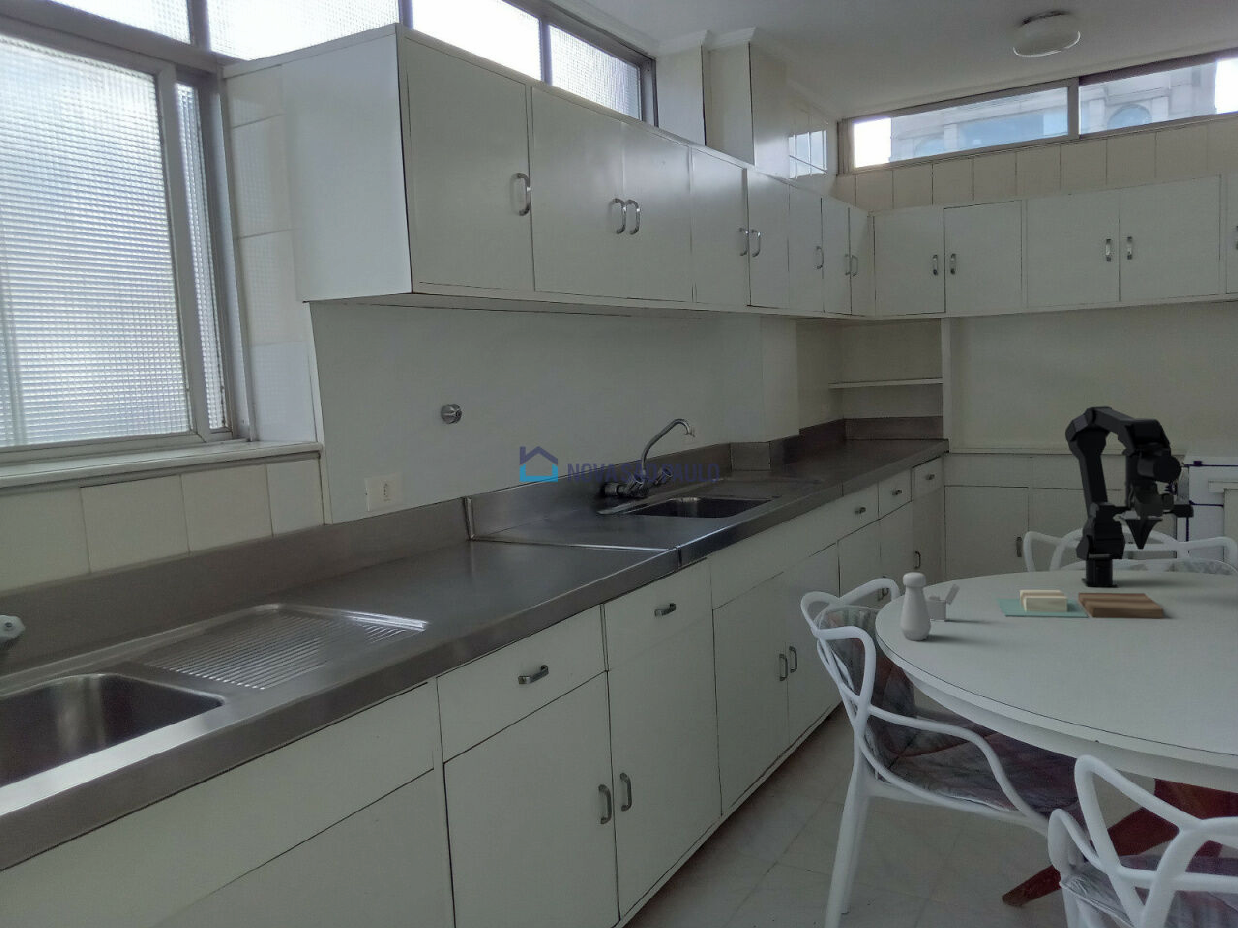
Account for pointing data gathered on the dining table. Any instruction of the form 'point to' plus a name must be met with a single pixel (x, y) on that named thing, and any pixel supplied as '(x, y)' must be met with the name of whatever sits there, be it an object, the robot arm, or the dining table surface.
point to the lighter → (940, 604)
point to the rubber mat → (1016, 609)
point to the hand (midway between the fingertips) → (1140, 549)
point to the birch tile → (1043, 600)
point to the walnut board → (1120, 605)
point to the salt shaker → (915, 608)
